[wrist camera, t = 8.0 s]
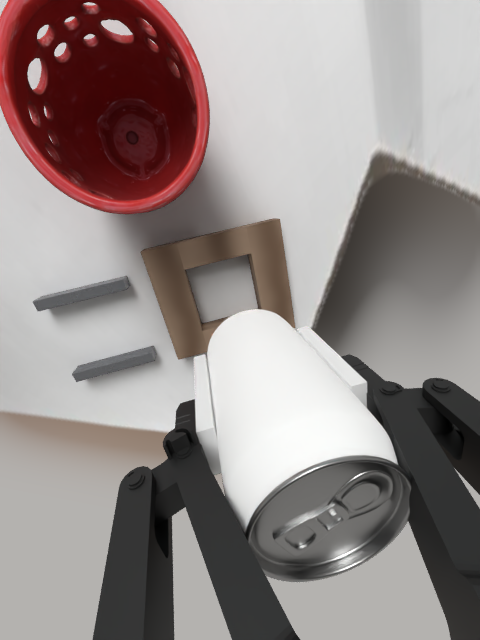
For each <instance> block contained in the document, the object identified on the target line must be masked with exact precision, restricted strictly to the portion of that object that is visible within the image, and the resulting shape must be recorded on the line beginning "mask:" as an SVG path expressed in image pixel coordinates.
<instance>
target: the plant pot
mask: <svg viewBox="0 0 480 640" xmlns="http://www.w3.org/2000/svg"><path fill="white" fill-rule="evenodd" d="M86 2H91V3H95V4H96V5H93V6H89V5H85V4H84V3H86ZM72 16H74V17H75V18H74V19H73V20H72V21H70V22H64V21H65V20H66V19H67V18H69V17H72ZM108 19H111V20H118V21H120V22H122V23H123V24H124V25H126V26H127V27H128V29H129V30H130V31H131V32H132V33H133V35H128V36H127V35H119V34H115V33H112V32H110V31H108V30H107V29H105V28H104V27H103V26H102V25H101V21H103V20H108ZM143 19H144V20H146V21H147V22H148V23H149V24H150V25H151V26H150V25H149V24H148V23H146V22H145V21H144V20H143ZM44 25H49V27H48V31H47V33H46V34H45V35H44V36H43V37H42V38H41V39H37V33H38V31H39V29H40V28H41V27H43V26H44ZM88 34H93V35H95V37H94V38H92V39H84V37H85V36H86V35H88ZM150 39H151V40H152V41H154V42H155V44H154V43H153V42H152V41H151V40H150ZM60 43H66V49H65V51H64V53H63V54H62V55H61V56H58V57H56V56H55V55H54V51H55V49H56V47H57V46H58V45H59V44H60ZM35 58H40V61H41V67H42V71H41V77H40V81H39V84H38V86H37V88H35V89H34V90H32V88H31V87H30V85H29V82H28V76H27V72H28V67H29V64H30V63H31V61H33V60H34V59H35ZM174 63H175V64H174ZM176 66H177V67H176ZM177 68H178V69H177ZM0 106H1V109H2V111H3V114H4V117H5V119H6V122H7V124H8V126H9V128H10V130H11V132H12V134H13V136H14V138H15V139H16V141H17V143H18V144H19V146H20V148H21V149H22V151H23V152H24V154H25V155H26V157H27V158H28V159H29V160H30V162H31V163H32V164H33V165H34V167H35V168H36V169H37V170H38V171H39V172H40V173H41V174H42V175H43V176H44V177H45V178H46V179H47V180H48V181H49V182H50V183H51V184H52V185H53V186H55V187H56V188H57V189H59V190H60V191H61V192H63V193H64V194H66V195H67V196H69V197H71V198H72V199H74V200H76V201H78V202H80V203H82V204H84V205H86V206H89V207H91V208H94V209H97V210H100V211H104V212H109V213H116V214H137V213H144V212H150V211H153V210H156V209H159V208H161V207H164V206H165V205H167V204H169V203H170V202H172V201H174V200H175V199H176V198H177V197H179V196H180V195H181V194H182V193H183V192H184V191H185V190H186V189H187V187H188V186H189V185H190V184H191V182H192V181H193V180H194V178H195V176H196V174H197V172H198V171H199V169H200V166H201V164H202V162H203V159H204V155H205V152H206V147H207V143H208V136H209V126H210V109H209V100H208V94H207V88H206V84H205V80H204V76H203V73H202V70H201V67H200V64H199V61H198V59H197V57H196V54H195V52H194V50H193V48H192V46H191V44H190V42H189V40H188V38H187V37H186V35H185V33H184V32H183V30H182V29H181V27H180V26H179V25H178V23H177V22H176V20H175V19H174V18H173V17H172V15H171V14H170V13H169V12H168V11H167V10H166V9H165V7H164V6H163V5H162V4H161V3H160V2H159V1H158V0H8V2H7V5H6V6H5V7H4V9H3V12H2V14H1V16H0ZM44 106H45V108H46V112H47V117H46V116H45V113H44ZM29 111H30V113H31V116H32V120H31V117H30V113H29ZM32 121H33V122H32ZM48 134H49V135H48ZM49 136H50V138H51V139H52V141H51V140H50V138H49ZM52 142H53V143H52ZM49 153H50V154H51V155H50V154H49Z"/></svg>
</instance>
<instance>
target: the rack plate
mask: <svg viewBox="0 0 480 640" xmlns="http://www.w3.org/2000/svg"><path fill="white" fill-rule="evenodd" d="M246 254H248V258H249V263H250V268H251V274H252V279H253V284H254V289H255V294H256V299H257V304H258V309H261V310H267V311H271V312H273V313H276V314H277V315H279V316H281V317H282V318H283V319H284V320H286V321H287V322H288V323H289V324H290V325H291V326H292V327H293V328H295V322H294V315H293V308H292V301H291V294H290V287H289V279H288V272H287V265H286V258H285V251H284V244H283V237H282V230H281V223H280V219H270V220H266V221H261V222H257V223H253V224H249V225H244V226H240V227H236V228H232V229H228V230H223V231H219V232H215V233H211V234H206V235H202V236H198V237H194V238H189V239H185V240H181V241H177V242H173V243H168V244H164V245H160V246H156V247H151V248H147V249H144V250H142V251H141V255H142V257H143V260H144V263H145V266H146V269H147V272H148V275H149V277H150V280H151V283H152V286H153V289H154V292H155V295H156V297H157V300H158V303H159V306H160V309H161V312H162V314H163V317H164V320H165V323H166V326H167V329H168V332H169V334H170V337H171V340H172V343H173V346H174V349H175V352H176V354H177V357H178V360H179V359H183V358H186V357H190V356H194V355H197V354H201V353H205V352H207V351H208V345H209V342H210V339H211V337H212V335H213V333H214V332H215V330H216V329H217V328H218V327H219V325H220V324H221V323H222V322H224V321H225V320H226V319H228V318H229V317H226V318H222V319H218V320H214V321H211V322H207V323H203V324H201V320H200V317H199V313H198V310H197V306H196V303H195V300H194V296H193V293H192V289H191V286H190V283H189V279H188V276H187V272H186V269H189V268H193V267H198V266H202V265H206V264H210V263H214V262H218V261H222V260H226V259H230V258H234V257H238V256H242V255H246ZM230 317H231V316H230Z"/></svg>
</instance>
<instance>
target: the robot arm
mask: <svg viewBox="0 0 480 640" xmlns="http://www.w3.org/2000/svg"><path fill="white" fill-rule="evenodd" d="M297 332H298V334H299V335H300V336H301V337H302V338H303V339H304V340H305V341H306V342H307V343H308V345H309V346H310V347H311V348H312V349H313V350H314V351H315V352H316V353H317V354H318V355H319V356H320V358H321V359H322V360H323V361H324V362H325V363H326V364H327V365H328V366H329V367H330V368H331V370H332V371H333V372H334V373H335V374H336V375H337V376H338V377H339V378H340V379H341V380H342V382H343V383H344V384H345V385H346V386H347V387H348V388H349V389H350V390H351V391H352V393H353V394H354V395H355V396H356V397H357V398H358V399H359V400H360V401H361V402H362V404H363V405H364V406H365V407H366V408H367V409H368V410H369V411H370V412H371V414H372V415H373V416H374V417H375V418H376V419H377V421H378V422H379V423H380V424H381V425H382V427H383V428H384V430H385V431H386V432H387V434H388V436H389V438H390V440H391V442H392V445H393V448H394V451H395V455H396V458H397V462H398V465H399V466H400V467H401V468H402V469H403V470H404V471H405V472H406V473H407V474H408V475H409V477H410V478H411V481H412V486H411V492H410V496H409V508H410V517H409V520H408V521H409V523H410V526H411V529H412V531H413V534H414V537H415V539H416V542H417V544H418V547H419V550H420V552H421V555H422V557H423V560H424V562H425V565H426V568H427V570H428V573H429V575H430V578H431V581H432V583H433V586H434V588H435V591H436V593H437V596H438V599H439V601H440V604H441V606H442V609H443V612H444V614H445V617H446V620H447V623H448V627H449V632H450V637H451V640H480V509H479V507H478V505H477V504H476V502H475V501H474V499H473V497H472V496H471V494H470V493H469V491H468V489H467V488H466V487H465V485H464V483H463V481H462V480H461V478H460V477H459V475H458V474H457V472H456V471H455V469H456V470H457V471H458V472H459V473H460V474H461V475H462V476H463V477H464V479H465V480H466V481H467V482H468V483H469V484H470V485H471V486H472V487H473V488H474V489H475V490H476V491H477V492H478V494H479V495H480V401H478V400H477V399H475V398H474V397H473V396H471V395H470V394H468V393H467V392H466V391H464V390H463V389H461V388H460V387H459V386H457V385H456V384H454V383H453V382H451V381H448V380H445V379H440V378H430V379H428V380H426V381H425V382H424V383H423V388H413V389H404V388H403V387H402V386H401V385H399V384H397V383H394V382H390V381H384V380H383V379H382V378H381V377H380V376H379V375H377V374H376V373H375V372H374V371H373V370H371V369H370V368H369V367H368V366H367V365H366V364H364V363H363V362H362V361H361V360H360V359H358V358H357V357H354V356H352V355H346V356H342V357H340V356H339V355H338V354H337V353H336V352H335V351H334V350H333V349H332V348H331V347H329V346H328V345H327V344H326V343H325V342H324V341H323V340H322V339H321V338H320V337H319V336H318V335H317V334H316V333H315V332H314V331H313V330H311V329H310V328H309V327H308V326H306V327H302V328H299V329H297ZM194 384H195V399H194V400H191V401H187V402H184V403H180V405H179V407H178V409H177V410H176V423H175V424H176V425H175V429H173V430H172V431H170V432H169V433H168V434H167V435H166V436H165V438H164V441H163V447H164V450H165V452H166V454H167V456H168V459H167V460H166V461H165V462H163V463H162V464H161V465H159V466H157V467H156V468H154V469H152V470H150V469H149V468H148V467H144V466H142V467H137V468H135V469H134V470H132V471H130V472H129V473H128V474H127V475H126V476H125V477H124V479H123V480H122V481H121V484H120V487H119V492H118V497H117V503H116V509H115V515H114V520H113V526H112V532H111V538H110V543H109V549H108V555H107V561H106V566H105V572H104V578H103V584H102V589H101V595H100V601H99V606H98V612H97V618H96V624H95V630H94V635H93V640H174V610H173V609H174V605H173V556H172V516H173V515H174V514H176V513H177V512H178V511H179V510H181V509H183V508H184V507H186V509H187V512H188V515H189V518H190V521H191V524H192V527H193V530H194V532H195V535H196V538H197V541H198V544H199V547H200V549H201V552H202V555H203V558H204V561H205V564H206V566H207V569H208V572H209V575H210V578H211V581H212V584H213V587H214V589H215V592H216V595H217V598H218V601H219V604H220V606H221V609H222V612H223V615H224V618H225V620H226V623H227V626H228V629H229V632H230V634H231V638H232V640H300V639H299V637H298V636H297V635H296V633H295V631H294V630H293V628H292V626H291V624H290V622H289V620H288V618H287V616H286V614H285V613H284V611H283V609H282V607H281V605H280V603H279V601H278V599H277V597H276V595H275V593H274V591H273V589H272V587H271V585H270V583H269V582H268V580H267V578H266V576H265V574H264V572H263V570H262V568H261V566H260V564H259V562H258V560H257V558H256V556H255V554H254V552H253V550H252V548H251V547H250V545H249V543H248V541H247V539H246V537H245V535H244V533H243V531H242V529H241V527H240V525H239V523H238V521H237V519H236V517H235V516H234V514H233V512H232V510H231V508H230V506H229V504H228V502H227V500H226V498H225V496H224V494H223V492H222V490H221V488H220V487H219V485H218V483H217V481H216V479H215V477H214V475H217V474H220V473H221V466H220V458H219V451H218V442H217V433H216V425H215V417H214V409H213V401H212V393H211V385H210V377H209V369H208V362H207V359H206V355H205V354H203V355H200V356H196V357H194ZM454 468H455V469H454Z"/></svg>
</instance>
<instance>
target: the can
mask: <svg viewBox="0 0 480 640" xmlns="http://www.w3.org/2000/svg"><path fill="white" fill-rule="evenodd" d="M207 360H208V369H209V377H210V385H211V393H212V401H213V409H214V417H215V425H216V433H217V442H218V451H219V458H220V466H221V473H222V480H223V487H224V492H225V498H226V500H227V502H228V504H229V506H230V508H231V510H232V512H233V514H234V516H235V517H236V519H237V521H238V523H239V525H240V527H241V529H242V531H243V533H244V535H245V537H246V539H247V541H248V543H249V545H250V547H251V548H252V550H253V552H254V554H255V556H256V558H257V560H258V562H259V564H260V566H261V568H262V570H263V572H264V574H265V575H266V576H268V577H271V578H274V579H277V580H281V581H289V582H307V581H314V580H320V579H325V578H328V577H332V576H335V575H338V574H341V573H344V572H346V571H348V570H351V569H353V568H355V567H357V566H359V565H361V564H362V563H364V562H366V561H368V560H369V559H371V558H373V557H374V556H375V555H377V554H378V553H379V552H381V551H382V550H383V549H385V548H386V547H387V546H388V545H389V544H390V543H391V542H392V541H393V540H394V539H395V538H396V537H397V536H398V535H399V533H400V532H401V531H402V530H403V528H404V527H405V525H406V523H407V522H408V520H409V517H410V508H409V496H410V492H411V486H412V481H411V478H410V477H409V475H408V474H407V473H406V472H405V471H404V470H403V469H402V468H401V467H400V466H399V465H398V462H397V458H396V455H395V451H394V448H393V445H392V442H391V440H390V438H389V436H388V434H387V432H386V431H385V430H384V428H383V427H382V425H381V424H380V423H379V422H378V421H377V419H376V418H375V417H374V416H373V415H372V414H371V412H370V411H369V410H368V409H367V408H366V407H365V406H364V405H363V404H362V402H361V401H360V400H359V399H358V398H357V397H356V396H355V395H354V394H353V393H352V391H351V390H350V389H349V388H348V387H347V386H346V385H345V384H344V383H343V382H342V380H341V379H340V378H339V377H338V376H337V375H336V374H335V373H334V372H333V371H332V370H331V368H330V367H329V366H328V365H327V364H326V363H325V362H324V361H323V360H322V359H321V358H320V356H319V355H318V354H317V353H316V352H315V351H314V350H313V349H312V348H311V347H310V346H309V345H308V343H307V342H306V341H305V340H304V339H303V338H302V337H301V336H300V335H299V334H298V333H297V332H296V331H295V330H294V329H293V327H292V326H291V325H290V324H289V323H288V322H287V321H286V320H284V319H283V318H282V317H281V316H279V315H277V314H276V313H273V312H271V311H267V310H261V309H252V310H246V311H242V312H239V313H237V314H234V315H232V316H231V317H229V318H228V319H226V320H225V321H224V322H222V323H221V324H220V325H219V327H218V328H217V329H216V330H215V332H214V333H213V335H212V337H211V339H210V342H209V345H208V351H207Z"/></svg>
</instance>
